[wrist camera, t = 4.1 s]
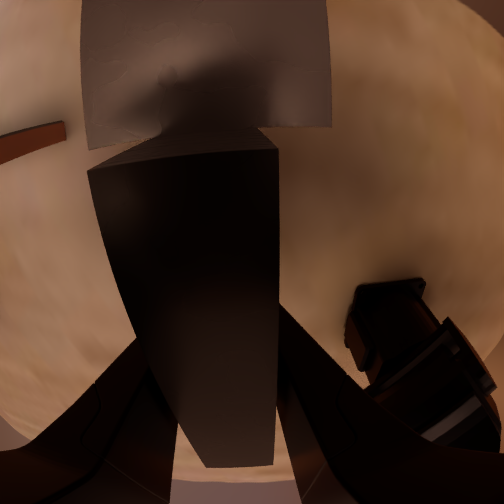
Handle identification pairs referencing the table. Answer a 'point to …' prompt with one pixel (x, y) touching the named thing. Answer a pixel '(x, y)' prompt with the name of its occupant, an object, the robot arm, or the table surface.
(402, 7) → the table surface
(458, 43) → the table surface
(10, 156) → the tile
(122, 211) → the turner
